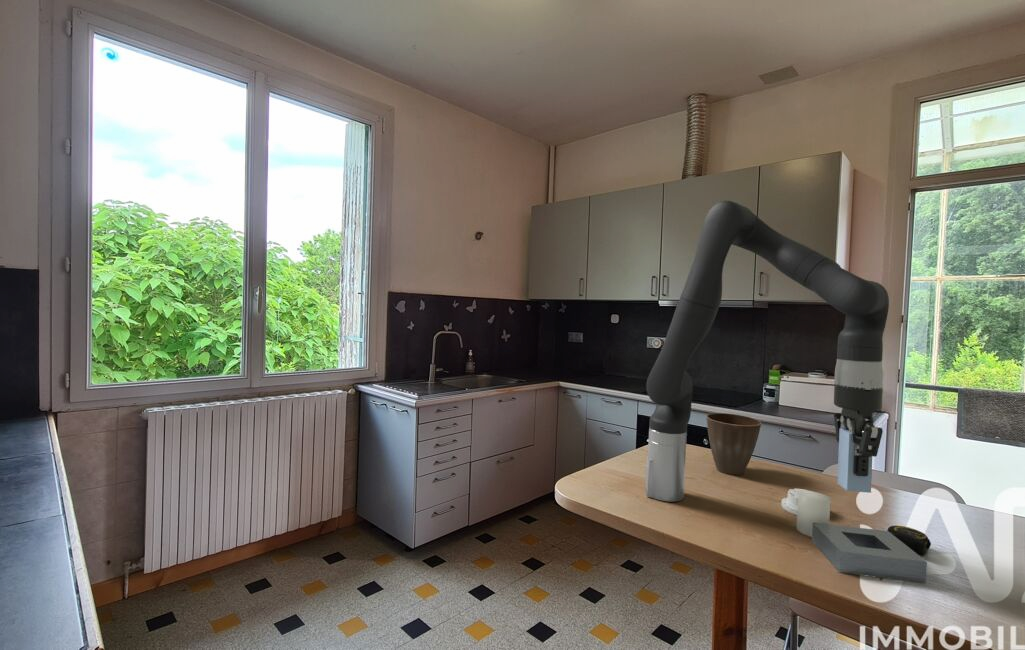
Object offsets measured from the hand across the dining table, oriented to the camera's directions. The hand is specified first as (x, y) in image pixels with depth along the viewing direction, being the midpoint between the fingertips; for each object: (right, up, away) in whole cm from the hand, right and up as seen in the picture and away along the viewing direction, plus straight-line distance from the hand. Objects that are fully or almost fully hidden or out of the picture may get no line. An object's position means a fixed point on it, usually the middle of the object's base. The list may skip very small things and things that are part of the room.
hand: (854, 471), depth 91 cm
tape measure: (+15, -19, +6) cm, 25 cm away
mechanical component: (+5, -18, +24) cm, 31 cm away
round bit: (0, -18, +13) cm, 22 cm away
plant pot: (0, -16, +51) cm, 53 cm away
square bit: (0, -3, 0) cm, 3 cm away
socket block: (+3, -18, +1) cm, 18 cm away
